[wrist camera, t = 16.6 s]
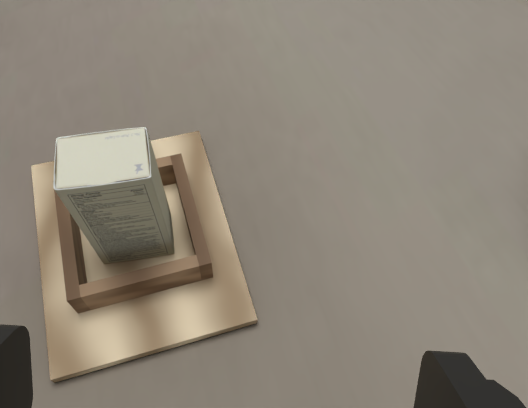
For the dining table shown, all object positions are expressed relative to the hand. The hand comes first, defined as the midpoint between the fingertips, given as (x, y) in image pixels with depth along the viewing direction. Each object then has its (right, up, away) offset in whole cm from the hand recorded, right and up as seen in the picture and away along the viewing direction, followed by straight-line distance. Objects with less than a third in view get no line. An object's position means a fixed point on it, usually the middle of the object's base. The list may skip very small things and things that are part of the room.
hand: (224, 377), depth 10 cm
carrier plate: (-10, 0, +33) cm, 34 cm away
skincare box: (-10, 0, +32) cm, 34 cm away
